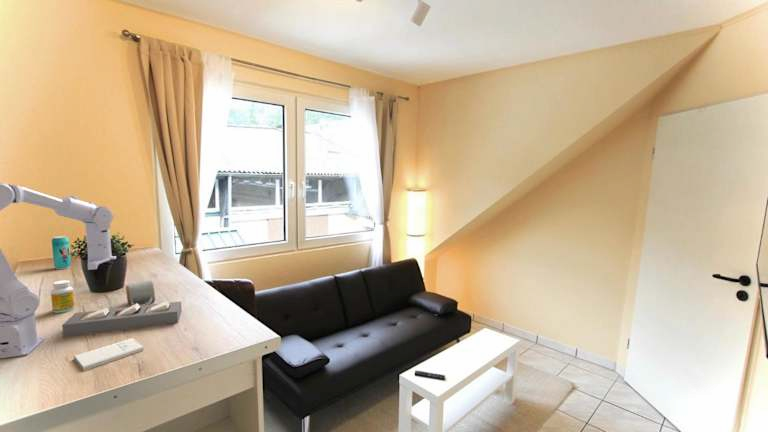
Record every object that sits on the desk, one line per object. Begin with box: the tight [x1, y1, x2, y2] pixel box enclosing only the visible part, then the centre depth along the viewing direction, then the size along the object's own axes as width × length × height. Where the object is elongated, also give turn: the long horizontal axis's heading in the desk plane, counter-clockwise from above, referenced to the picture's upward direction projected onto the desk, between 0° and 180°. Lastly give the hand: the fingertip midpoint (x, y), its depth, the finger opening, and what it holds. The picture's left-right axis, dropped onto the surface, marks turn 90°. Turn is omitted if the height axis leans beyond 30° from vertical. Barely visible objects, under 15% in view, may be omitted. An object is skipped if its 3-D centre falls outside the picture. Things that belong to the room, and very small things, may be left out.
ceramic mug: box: [125, 279, 156, 306], centre depth 122 cm, size 11×8×8 cm
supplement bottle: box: [50, 279, 75, 314], centre depth 115 cm, size 5×5×10 cm
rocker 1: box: [81, 307, 109, 320], centre depth 103 cm, size 4×6×2 cm, turn 114°
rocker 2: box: [116, 303, 140, 316], centre depth 106 cm, size 4×6×2 cm, turn 114°
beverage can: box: [51, 235, 72, 270], centre depth 160 cm, size 6×6×15 cm
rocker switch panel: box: [61, 301, 183, 338], centre depth 107 cm, size 9×28×4 cm, turn 114°
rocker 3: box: [146, 300, 170, 312], centre depth 110 cm, size 4×6×2 cm, turn 114°
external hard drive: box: [73, 337, 144, 372], centre depth 89 cm, size 2×8×12 cm
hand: (102, 285), depth 110 cm, fingers closed
